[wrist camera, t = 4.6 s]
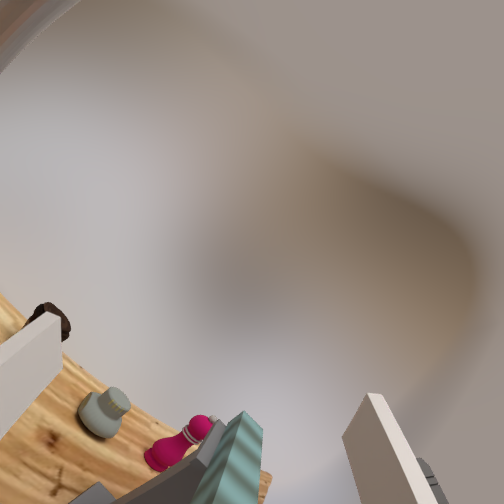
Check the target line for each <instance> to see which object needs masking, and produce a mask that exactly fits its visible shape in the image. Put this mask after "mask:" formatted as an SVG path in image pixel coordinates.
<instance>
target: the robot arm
mask: <svg viewBox="0 0 504 504" xmlns="http://www.w3.org/2000/svg"><path fill="white" fill-rule="evenodd" d="M80 1H81V0H0V74H1V72H3V70H4V69H5V68H6V67H7V66H8V65H9V64H10V63H11V62H12V61H13V60H14V59H15V58H16V57H17V56H18V55H19V54H20V52H21V51H22V50H23V49H25V48H26V47H27V45H29V44H30V43H31V42H32V41H33V40H34V39H35V38H36V37H37V36H38V35H39V34H40V33H42V32H43V31H44V30H45V29H46V28H47V27H48V26H49V25H51V24H52V23H53V22H54V21H55V20H57V19H58V18H59V17H60V16H62V15H63V14H64V13H65V12H67V11H68V10H69V9H70V8H71V7H73V6H74V5H76V4H77V3H78V2H80ZM62 369H63V363H62V346H61V317H59V316H57V315H55V314H52V313H50V312H48V311H47V312H45V313H44V314H42V315H41V316H40V317H38V318H37V319H35V320H34V321H33V322H31V323H30V324H28V325H27V326H26V327H24V328H23V329H22V330H20V331H19V332H17V333H16V334H15V335H13V336H12V337H11V338H9V339H8V340H7V341H5V342H4V343H3V344H1V345H0V440H1V439H2V437H3V436H4V435H5V434H6V433H7V431H8V430H9V429H10V428H11V427H12V425H13V424H14V423H15V422H16V421H17V420H18V418H19V417H20V416H21V415H22V414H23V413H24V411H25V410H26V409H27V408H28V407H29V406H30V405H31V403H32V402H33V401H34V400H35V399H36V398H37V397H38V395H39V394H40V393H41V392H42V391H43V390H44V389H45V388H46V387H47V385H48V384H49V383H50V382H51V381H52V380H53V379H54V378H55V377H56V376H57V374H58V373H59V372H60V371H61V370H62ZM342 439H343V442H344V446H345V449H346V452H347V455H348V459H349V462H350V465H351V469H352V472H353V476H354V479H355V482H356V486H357V489H358V492H359V496H360V500H361V503H362V504H449V503H448V501H447V499H446V497H445V495H444V493H443V491H442V489H441V487H440V485H438V482H437V479H436V478H434V474H433V472H432V470H431V468H430V466H429V465H428V464H427V463H426V462H425V461H424V460H423V459H422V458H415V456H414V454H413V452H412V450H411V448H410V446H409V445H408V442H407V441H406V439H405V437H404V435H403V433H402V431H401V429H400V427H399V425H398V423H397V422H396V420H395V418H394V416H393V414H392V412H391V411H390V409H389V407H388V405H387V403H386V401H385V399H384V398H383V396H382V394H373V393H367V394H366V396H365V397H364V399H363V401H362V403H361V405H360V407H359V408H358V411H357V412H356V414H355V415H354V417H353V419H352V421H351V423H350V424H349V426H348V428H347V429H346V431H345V432H344V434H343V436H342Z"/></svg>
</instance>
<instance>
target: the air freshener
mask: <svg viewBox="0 0 504 504" xmlns="http://www.w3.org/2000/svg"><path fill="white" fill-rule="evenodd" d="M130 408H131V405H130V401H129V399H128V398H127V396H126V395H125V394H124V393H123V392H122V391H121V390H120V389H118V388H115V387H110V388H109V389H108V390H106V391H105V392H104V393H103V394H102V395H101V394H99V393H96V392H90V393H89V394H88V395H87V396H86V397H85V399H84V400H83V402H82V403H81V405H80V407H79V409H78V413H79V416H80V418H81V420H82V422H83V423H84V425H85V426H86V427H87V428H88V429H89V430H90V431H91V432H93V433H94V434H96V435H98V436H100V437H103V438H112V437H114V436H115V434H116V433H117V432H118V430H119V428H120V426H121V422H122V418H121V416H123V415H124V414H125V413H126V412H128V411H129V410H130Z"/></svg>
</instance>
